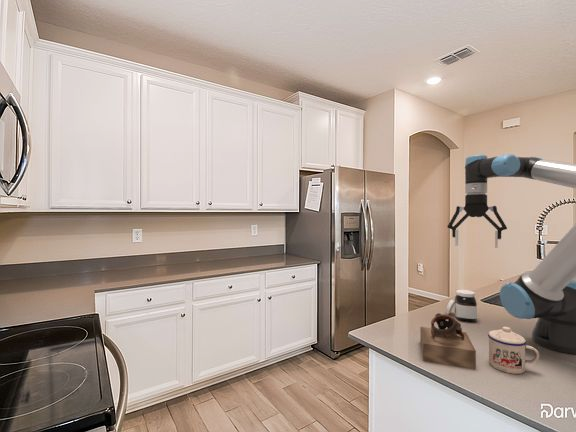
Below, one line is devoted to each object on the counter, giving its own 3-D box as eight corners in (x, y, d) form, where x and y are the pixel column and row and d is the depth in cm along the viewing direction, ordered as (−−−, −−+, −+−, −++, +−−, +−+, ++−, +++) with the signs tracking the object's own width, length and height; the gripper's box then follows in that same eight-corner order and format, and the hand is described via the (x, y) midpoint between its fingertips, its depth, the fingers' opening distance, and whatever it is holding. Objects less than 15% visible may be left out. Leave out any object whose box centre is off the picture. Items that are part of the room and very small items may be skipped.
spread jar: (479, 324, 120) (479, 295, 120) (448, 321, 124) (448, 293, 124) (470, 314, 132) (471, 288, 132) (442, 311, 135) (442, 286, 135)
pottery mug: (473, 345, 91) (465, 324, 89) (444, 357, 92) (436, 337, 90) (451, 320, 102) (443, 302, 100) (426, 332, 103) (418, 314, 101)
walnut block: (465, 350, 99) (466, 332, 99) (475, 371, 86) (475, 350, 86) (420, 343, 104) (420, 326, 104) (423, 362, 91) (423, 343, 91)
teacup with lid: (488, 369, 86) (489, 329, 86) (486, 356, 94) (487, 319, 94) (542, 381, 80) (542, 338, 80) (535, 366, 88) (535, 327, 87)
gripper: (440, 194, 124) (440, 245, 124) (515, 192, 109) (515, 249, 109) (443, 195, 130) (442, 243, 130) (514, 193, 115) (514, 247, 115)
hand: (475, 246), depth 120 cm, fingers open, 13 cm apart
